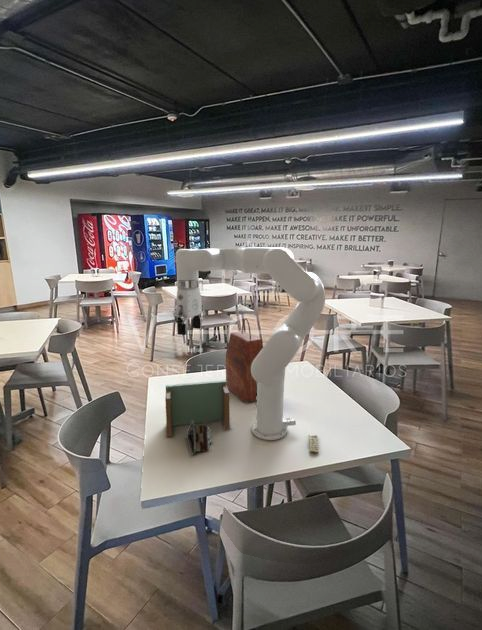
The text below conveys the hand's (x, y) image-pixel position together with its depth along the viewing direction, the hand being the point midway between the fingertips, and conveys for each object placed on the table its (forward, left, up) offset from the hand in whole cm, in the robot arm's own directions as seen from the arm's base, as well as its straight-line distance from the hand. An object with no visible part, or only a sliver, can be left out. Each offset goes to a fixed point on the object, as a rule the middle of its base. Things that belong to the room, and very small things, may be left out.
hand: (189, 331), depth 122 cm
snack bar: (-39, +27, -35) cm, 59 cm away
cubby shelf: (-2, +7, -35) cm, 36 cm away
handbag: (-25, -18, -35) cm, 47 cm away
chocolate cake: (-2, +18, -35) cm, 39 cm away
